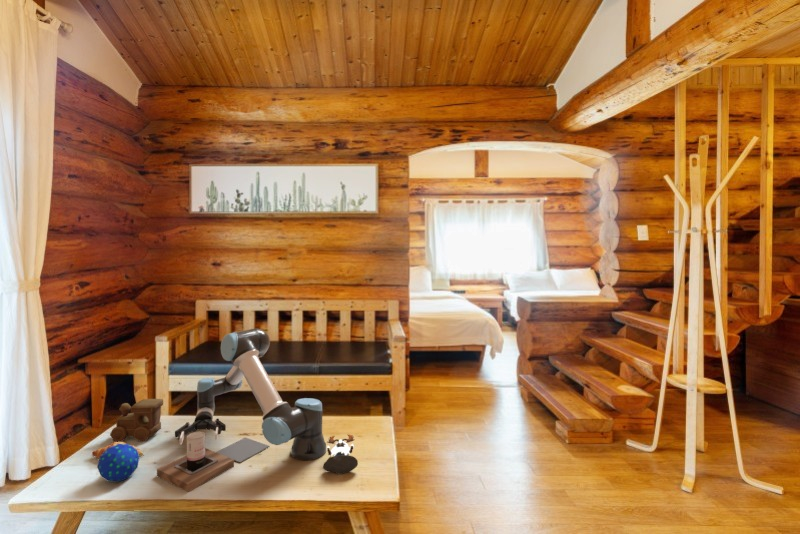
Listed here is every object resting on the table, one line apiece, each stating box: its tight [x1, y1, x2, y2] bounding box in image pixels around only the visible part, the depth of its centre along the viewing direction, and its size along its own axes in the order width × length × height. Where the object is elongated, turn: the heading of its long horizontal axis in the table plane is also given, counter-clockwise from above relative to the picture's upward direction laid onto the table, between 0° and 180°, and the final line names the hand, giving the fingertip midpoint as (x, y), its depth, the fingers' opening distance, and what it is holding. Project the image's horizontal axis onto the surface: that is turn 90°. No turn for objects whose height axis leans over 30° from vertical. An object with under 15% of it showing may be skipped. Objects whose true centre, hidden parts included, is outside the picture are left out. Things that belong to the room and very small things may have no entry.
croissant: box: [91, 441, 144, 461], centre depth 173 cm, size 21×10×8 cm, turn 92°
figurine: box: [322, 433, 358, 475], centre depth 170 cm, size 14×10×18 cm
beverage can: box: [186, 431, 206, 472], centre depth 163 cm, size 7×6×15 cm
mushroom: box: [97, 443, 140, 483], centre depth 158 cm, size 14×14×15 cm
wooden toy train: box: [109, 398, 164, 442], centre depth 191 cm, size 20×11×17 cm, turn 92°
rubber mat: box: [215, 437, 270, 464], centre depth 180 cm, size 16×16×1 cm
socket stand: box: [156, 447, 235, 492], centre depth 163 cm, size 20×20×3 cm
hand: (198, 438), depth 172 cm, fingers open, 13 cm apart
